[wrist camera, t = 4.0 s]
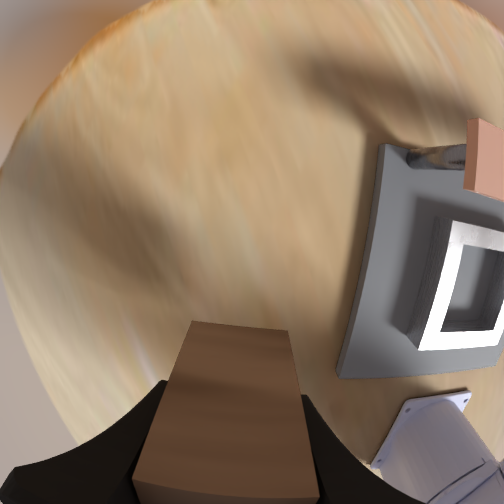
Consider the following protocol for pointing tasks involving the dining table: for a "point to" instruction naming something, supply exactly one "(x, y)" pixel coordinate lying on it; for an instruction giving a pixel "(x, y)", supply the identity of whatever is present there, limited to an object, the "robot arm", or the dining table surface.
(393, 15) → the dining table surface
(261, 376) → the walnut peg
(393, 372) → the socket board
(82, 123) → the dining table surface
